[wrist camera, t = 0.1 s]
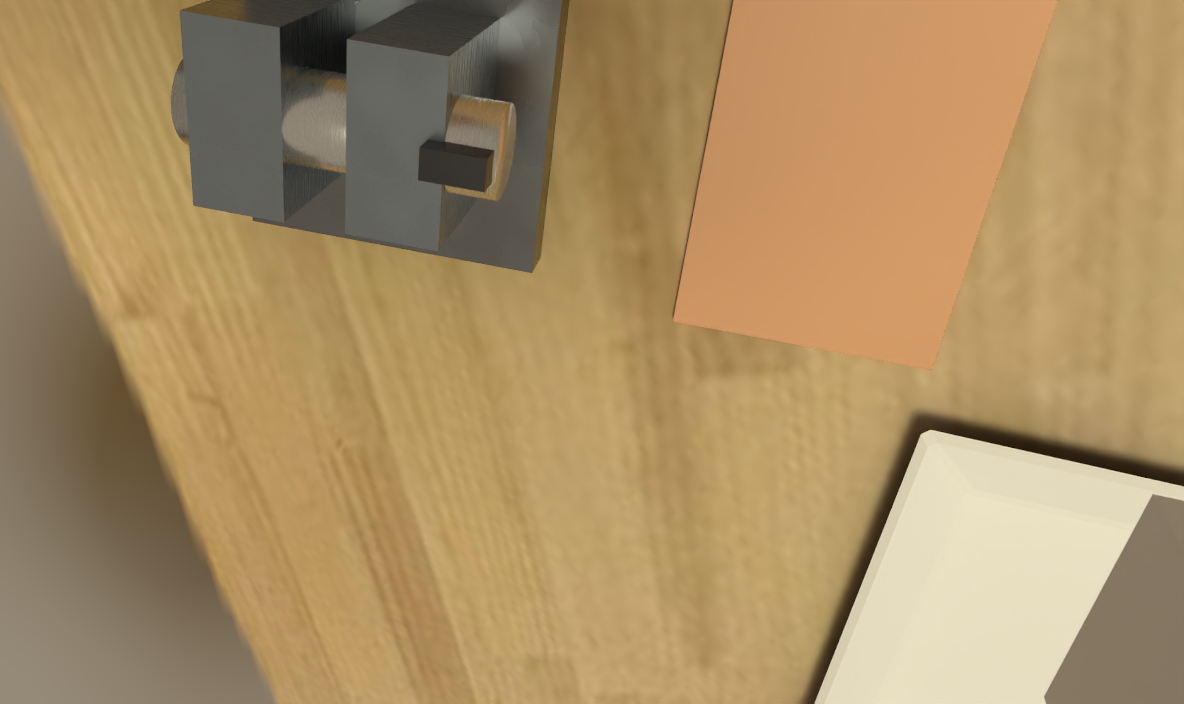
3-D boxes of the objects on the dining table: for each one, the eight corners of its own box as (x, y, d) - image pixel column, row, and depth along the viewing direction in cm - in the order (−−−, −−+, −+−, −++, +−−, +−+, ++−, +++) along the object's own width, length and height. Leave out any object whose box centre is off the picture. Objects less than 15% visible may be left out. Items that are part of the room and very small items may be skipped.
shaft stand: (259, -124, 34) (120, -107, 27) (577, -74, 33) (522, -42, 26) (269, 207, 40) (157, 294, 33) (540, 257, 39) (487, 358, 32)
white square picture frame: (1182, 816, 48) (1198, 856, 46) (794, 722, 49) (794, 757, 47) (1401, 511, 39) (1432, 545, 37) (917, 403, 40) (924, 431, 38)
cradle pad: (751, -97, 32) (751, -97, 32) (1071, -48, 31) (1073, -46, 31) (673, 317, 39) (672, 321, 39) (930, 366, 39) (931, 370, 38)
